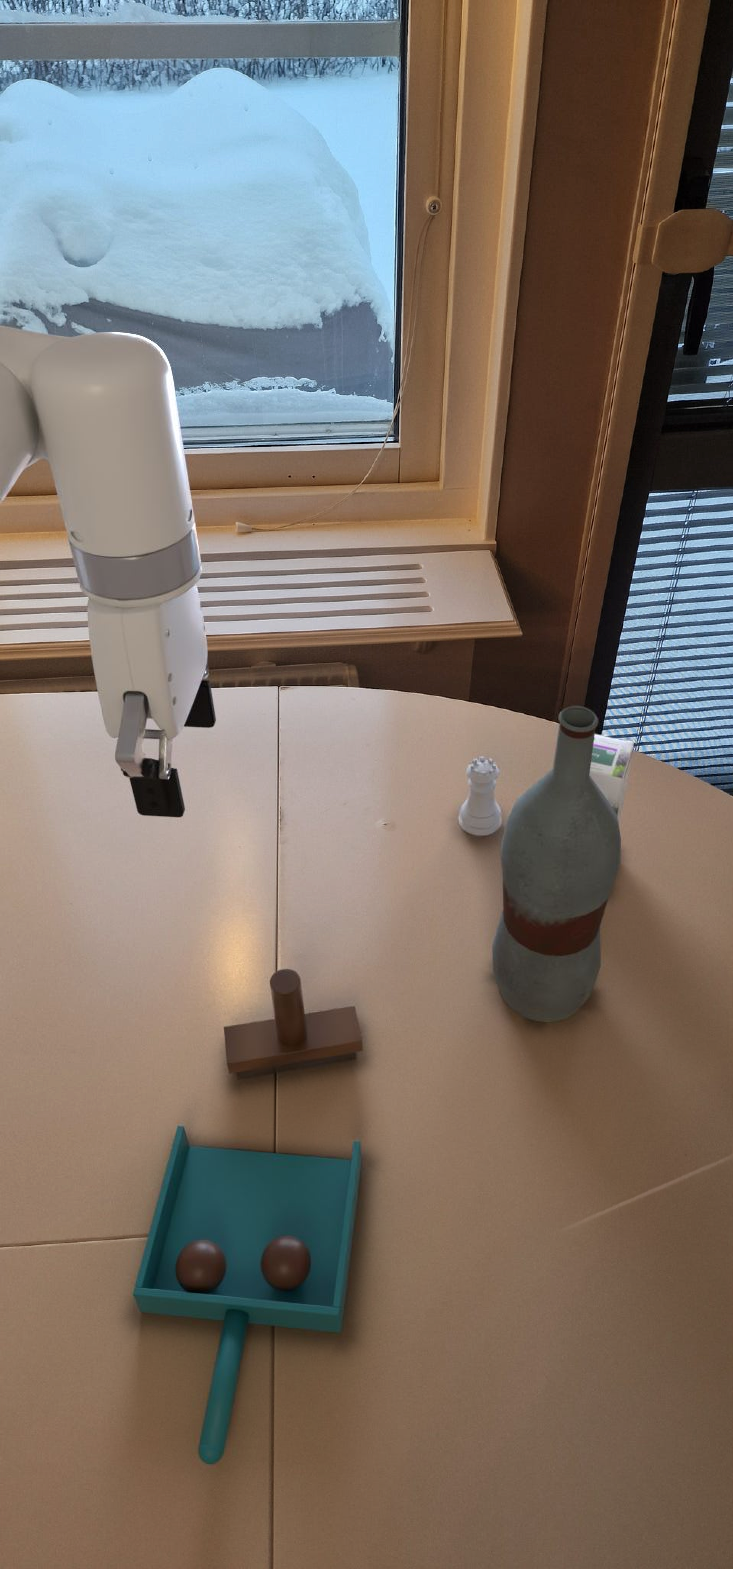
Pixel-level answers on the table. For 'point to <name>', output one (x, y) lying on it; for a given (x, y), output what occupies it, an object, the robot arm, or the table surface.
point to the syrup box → (611, 768)
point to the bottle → (556, 881)
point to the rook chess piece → (481, 799)
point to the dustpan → (249, 1250)
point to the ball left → (200, 1267)
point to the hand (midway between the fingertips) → (179, 767)
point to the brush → (291, 1034)
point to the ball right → (285, 1263)
